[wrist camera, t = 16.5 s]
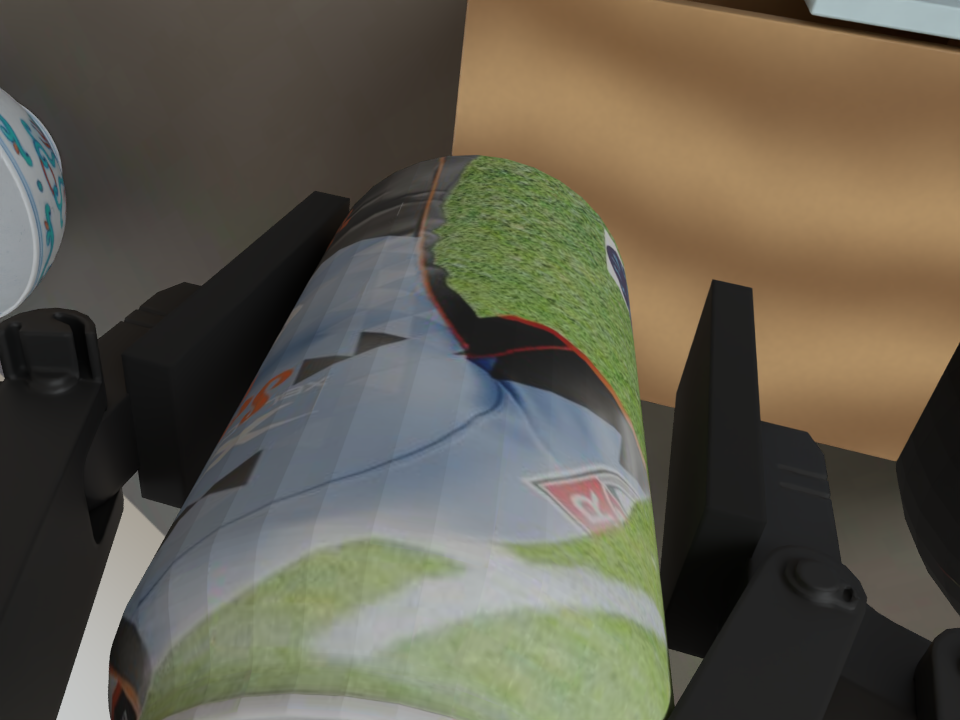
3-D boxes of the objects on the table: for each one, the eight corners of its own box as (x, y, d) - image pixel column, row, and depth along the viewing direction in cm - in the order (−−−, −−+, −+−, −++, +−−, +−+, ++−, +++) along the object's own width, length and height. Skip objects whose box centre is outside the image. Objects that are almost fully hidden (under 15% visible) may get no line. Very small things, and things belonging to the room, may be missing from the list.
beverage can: (348, 119, 16) (-230, 540, 6) (729, 161, 15) (739, 783, 5) (362, 381, 20) (-3, 920, 10) (673, 435, 18) (613, 1128, 8)
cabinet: (546, -69, 36) (470, -32, 25) (979, 2, 33) (1101, 76, 22) (503, 225, 43) (431, 349, 33) (851, 301, 41) (896, 462, 30)
